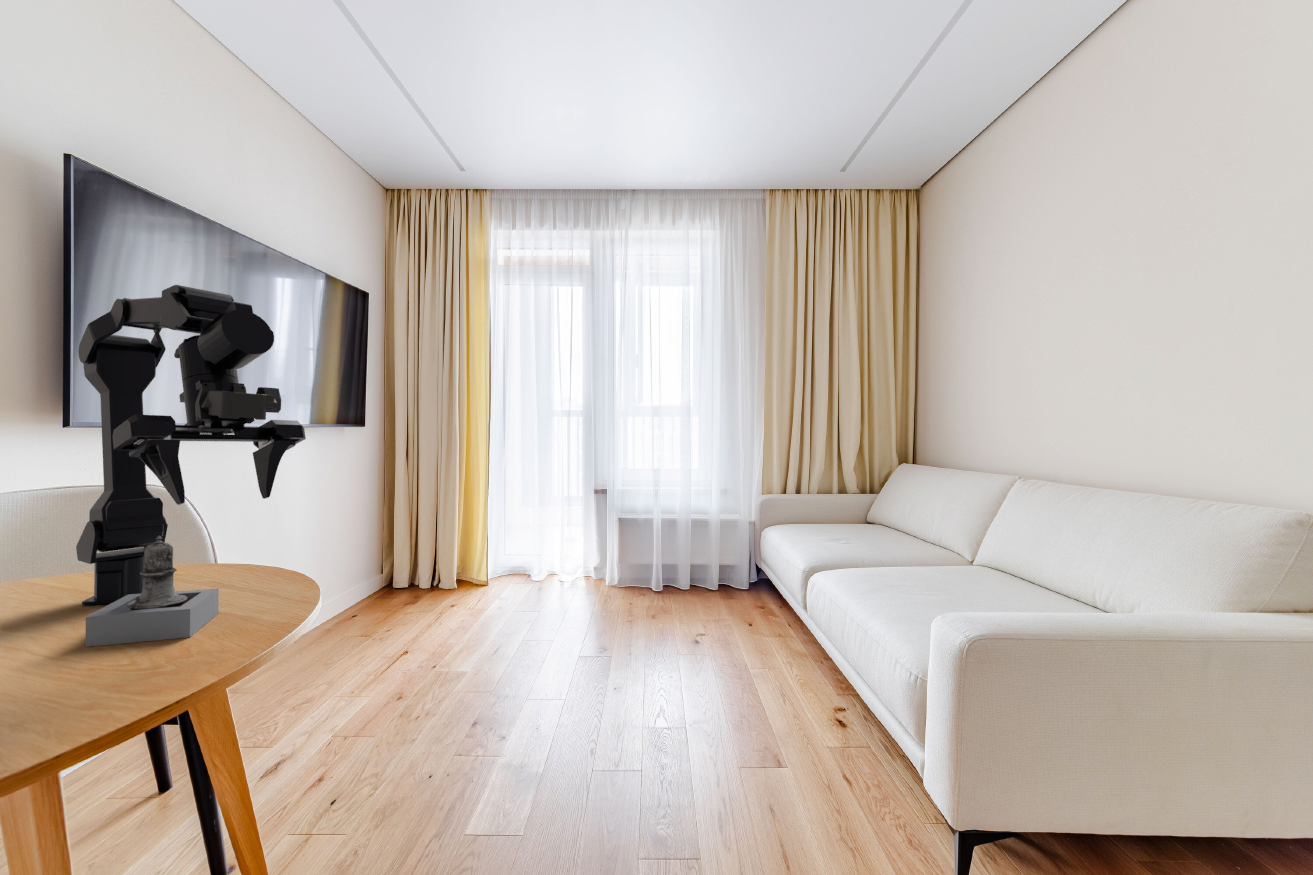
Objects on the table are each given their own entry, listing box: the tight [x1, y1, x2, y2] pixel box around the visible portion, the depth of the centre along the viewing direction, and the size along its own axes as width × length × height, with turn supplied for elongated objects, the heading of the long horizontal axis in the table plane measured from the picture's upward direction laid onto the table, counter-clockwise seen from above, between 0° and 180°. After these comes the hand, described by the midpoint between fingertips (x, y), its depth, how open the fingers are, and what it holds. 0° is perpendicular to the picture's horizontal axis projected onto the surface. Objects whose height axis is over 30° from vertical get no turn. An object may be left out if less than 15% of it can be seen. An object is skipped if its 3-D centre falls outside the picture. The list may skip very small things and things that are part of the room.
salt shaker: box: [127, 535, 188, 610], centre depth 74 cm, size 6×6×12 cm
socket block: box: [85, 588, 220, 648], centre depth 74 cm, size 10×10×4 cm
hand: (226, 500), depth 72 cm, fingers open, 9 cm apart
